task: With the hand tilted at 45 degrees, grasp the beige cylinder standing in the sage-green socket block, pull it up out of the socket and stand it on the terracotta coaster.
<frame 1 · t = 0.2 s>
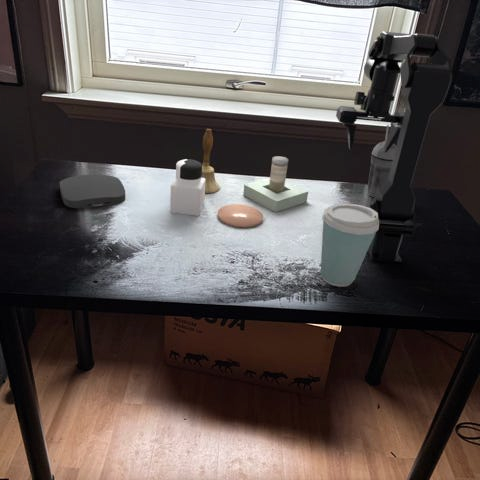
hand: (367, 150, 122), 15 cm above the table, tool pointing down, fingers open, 9 cm apart
beige cylinder: (277, 179, 123), in the socket block
beverage cup: (374, 195, 134), on the table
hand bell: (204, 188, 128), on the table
medicine bottle: (187, 209, 115), on the table
disposable coffee cup: (336, 278, 95), on the table
socket block: (274, 198, 126), on the table
terracotta coaster: (240, 216, 114), on the table
media streaming box: (92, 196, 118), on the table
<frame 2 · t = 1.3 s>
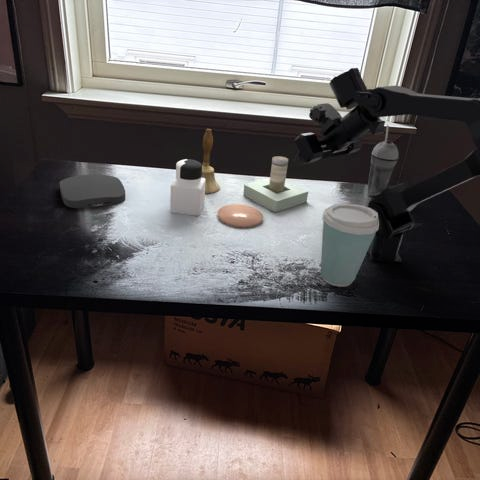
hand: (307, 160, 114), 13 cm above the table, tool tilted 45°, fingers open, 9 cm apart
nothing on the table moved.
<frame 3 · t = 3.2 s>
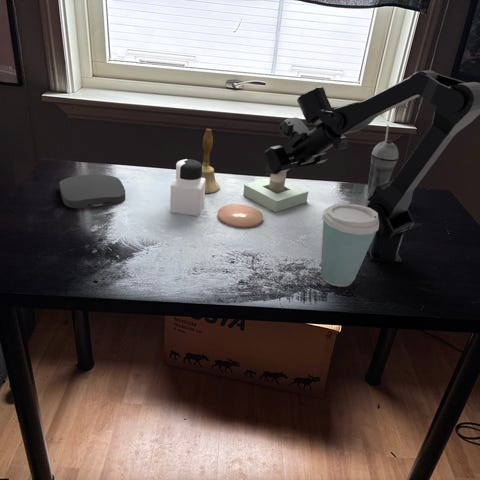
hand: (277, 169, 122), 8 cm above the table, tool tilted 45°, fingers open, 9 cm apart
nothing on the table moved.
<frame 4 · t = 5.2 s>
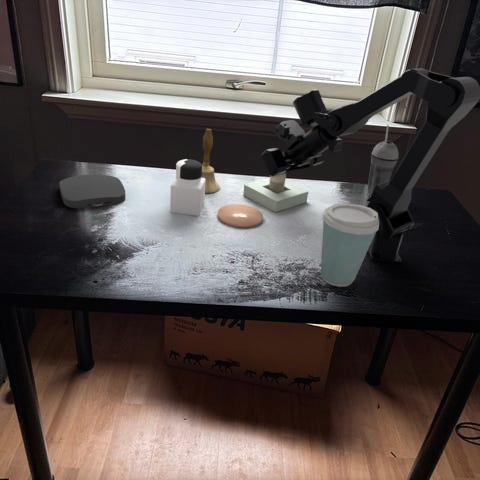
hand: (274, 171, 123), 7 cm above the table, tool tilted 45°, fingers closed on beige cylinder, 4 cm apart
beige cylinder: (277, 179, 123), in the socket block, touching gripper
everything else where it was.
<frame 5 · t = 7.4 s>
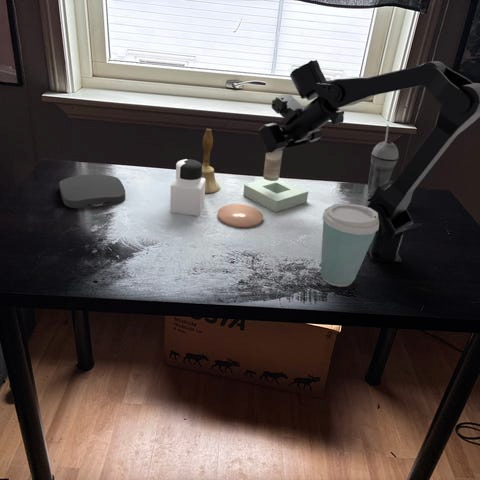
hand: (270, 149, 118), 13 cm above the table, tool tilted 45°, fingers closed on beige cylinder, 4 cm apart
beige cylinder: (273, 157, 118), point 12 cm above the table, touching gripper
everything else where it was.
when the fingers open (9 cm above the table, at t = 9.8 s): beige cylinder drops 1 cm, resting on terracotta coaster.
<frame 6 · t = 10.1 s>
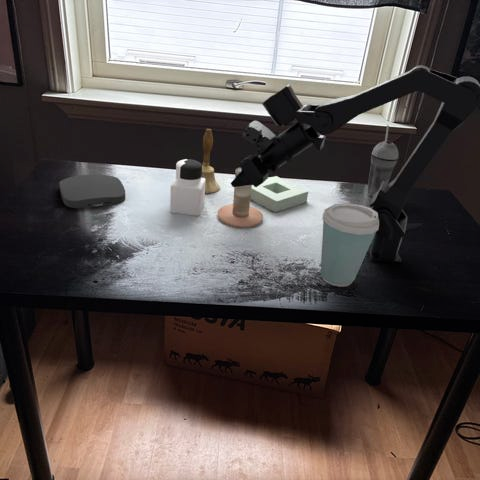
hand: (238, 179, 110), 9 cm above the table, tool tilted 45°, fingers open, 7 cm apart
beige cylinder: (242, 192, 111), on the terracotta coaster, point 6 cm above the table
everything else where it was.
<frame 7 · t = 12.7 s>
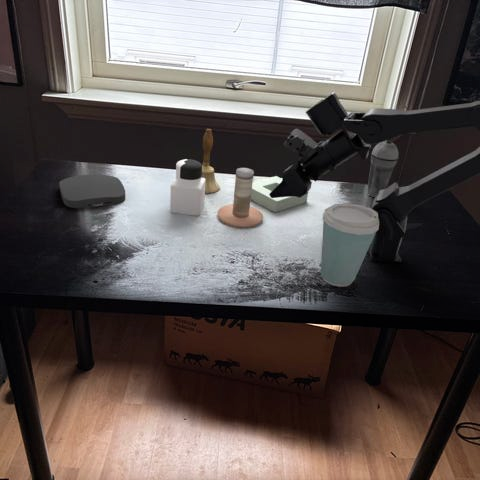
hand: (277, 188, 107), 9 cm above the table, tool tilted 45°, fingers open, 9 cm apart
nothing on the table moved.
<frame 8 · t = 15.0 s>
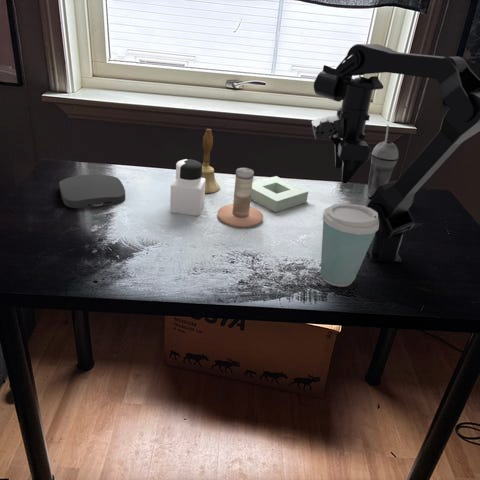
hand: (340, 175, 108), 13 cm above the table, tool pointing down, fingers open, 9 cm apart
nothing on the table moved.
at the end: beige cylinder 0.0 cm from the terracotta coaster (horizontally); beige cylinder tilted 0°; the gripper is holding nothing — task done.
